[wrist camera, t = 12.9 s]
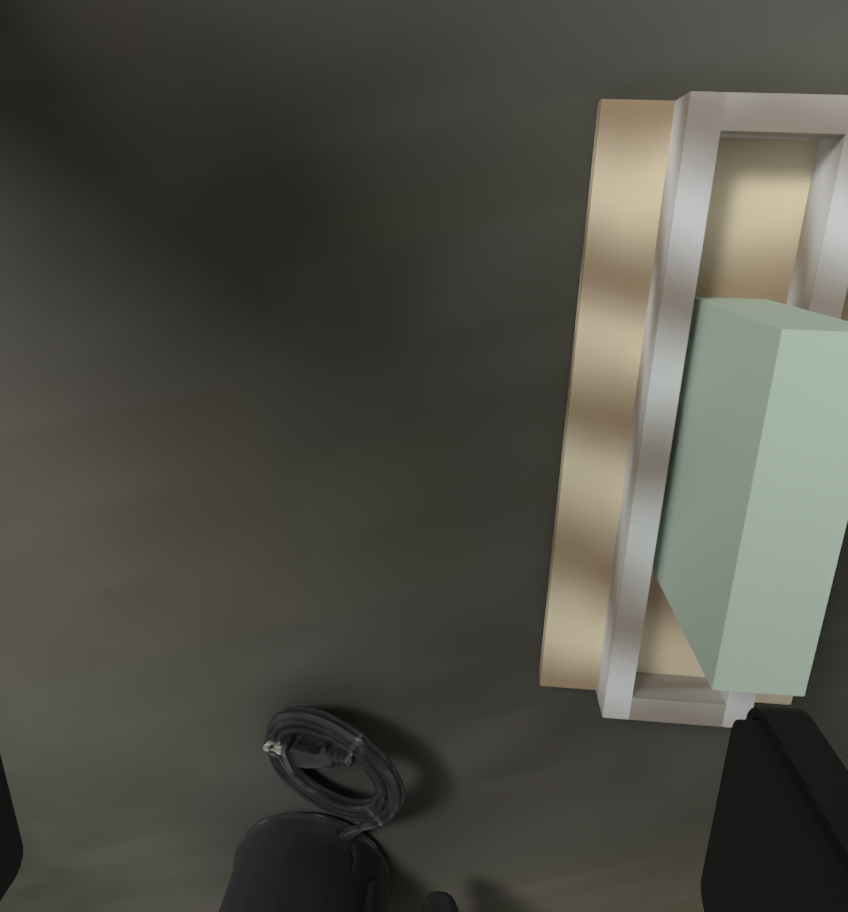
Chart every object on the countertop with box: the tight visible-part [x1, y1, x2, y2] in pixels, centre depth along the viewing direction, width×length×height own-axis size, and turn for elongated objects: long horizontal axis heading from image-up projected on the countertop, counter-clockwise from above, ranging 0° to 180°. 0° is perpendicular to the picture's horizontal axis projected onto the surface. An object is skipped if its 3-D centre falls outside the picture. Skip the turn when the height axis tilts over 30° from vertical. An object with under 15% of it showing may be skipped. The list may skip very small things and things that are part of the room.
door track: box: [539, 91, 848, 728], centre depth 29 cm, size 26×12×3 cm, turn 178°
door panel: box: [652, 297, 848, 696], centre depth 26 cm, size 12×3×9 cm, turn 178°
